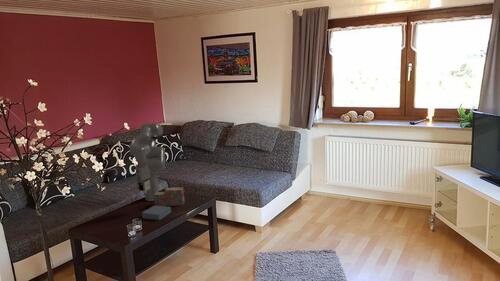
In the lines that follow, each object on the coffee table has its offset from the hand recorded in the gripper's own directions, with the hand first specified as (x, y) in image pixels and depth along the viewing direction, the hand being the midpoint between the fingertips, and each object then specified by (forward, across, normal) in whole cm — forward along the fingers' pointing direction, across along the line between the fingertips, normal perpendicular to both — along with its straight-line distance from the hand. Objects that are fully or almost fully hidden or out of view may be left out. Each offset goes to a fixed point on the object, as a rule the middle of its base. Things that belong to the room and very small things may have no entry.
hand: (144, 188), depth 271 cm
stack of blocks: (+17, +14, -10) cm, 25 cm away
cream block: (+1, 0, 0) cm, 1 cm away
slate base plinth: (+17, -6, -13) cm, 22 cm away
